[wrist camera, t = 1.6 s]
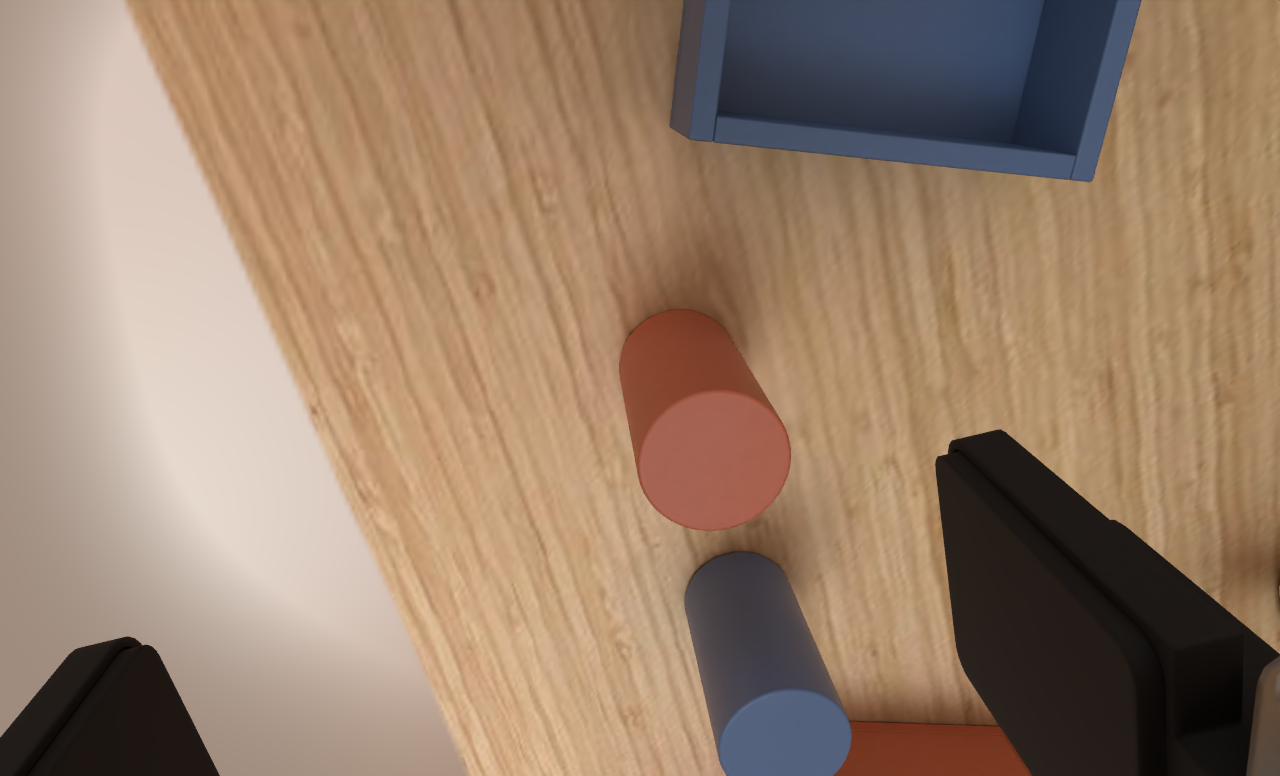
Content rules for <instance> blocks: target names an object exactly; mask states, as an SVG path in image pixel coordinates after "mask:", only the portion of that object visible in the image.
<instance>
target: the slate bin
mask: <svg viewBox="0 0 1280 776" xmlns="http://www.w3.org/2000/svg"><path fill="white" fill-rule="evenodd" d="M1140 4H1141V0H684V5H683V14H682V22H681V31H680V40H679V49H678V57H677V66H676V75H675V84H674V92H673V101H672V110H671V119H670V128H672V129H674V130H675V131H677V132H678V133H680V134H682V135H683V136H685V137H686V138H688V139H690V140H696V141H705V142H712V141H713V142H715V143H724V144H734V145H743V146H753V147H762V148H772V149H781V150H790V151H800V152H809V153H819V154H828V155H838V156H847V157H857V158H866V159H875V160H885V161H894V162H904V163H913V164H923V165H932V166H942V167H951V168H961V169H970V170H979V171H989V172H998V173H1008V174H1017V175H1027V176H1036V177H1046V178H1055V179H1065V180H1068V179H1069V180H1074V181H1084V182H1091V181H1092V180H1093V178H1094V174H1095V170H1096V166H1097V163H1098V159H1099V155H1100V152H1101V148H1102V144H1103V141H1104V137H1105V133H1106V129H1107V126H1108V122H1109V118H1110V115H1111V111H1112V107H1113V103H1114V100H1115V96H1116V92H1117V89H1118V85H1119V81H1120V78H1121V74H1122V70H1123V66H1124V63H1125V59H1126V55H1127V52H1128V48H1129V44H1130V41H1131V37H1132V33H1133V29H1134V26H1135V22H1136V18H1137V15H1138V11H1139V7H1140Z"/></svg>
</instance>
